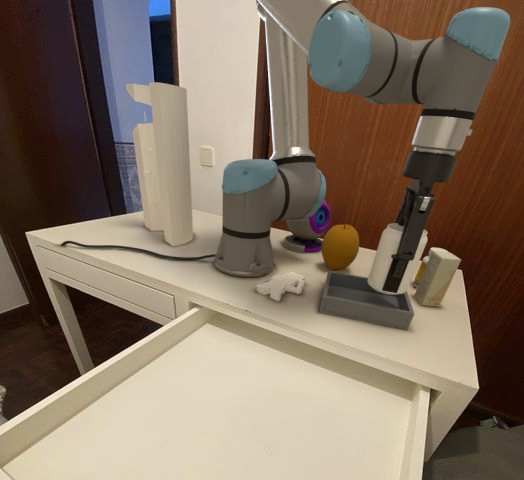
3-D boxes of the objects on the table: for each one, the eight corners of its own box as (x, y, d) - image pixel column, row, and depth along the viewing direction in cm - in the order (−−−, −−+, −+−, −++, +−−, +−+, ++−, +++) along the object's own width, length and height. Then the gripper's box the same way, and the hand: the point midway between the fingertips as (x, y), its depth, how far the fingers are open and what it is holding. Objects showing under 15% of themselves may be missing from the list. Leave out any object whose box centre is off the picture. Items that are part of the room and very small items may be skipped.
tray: (319, 312, 62) (322, 296, 60) (324, 284, 74) (328, 270, 71) (407, 329, 60) (414, 313, 57) (399, 298, 71) (404, 284, 69)
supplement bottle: (425, 282, 81) (441, 246, 75) (439, 291, 77) (456, 254, 71) (408, 282, 80) (423, 246, 74) (421, 291, 75) (437, 253, 70)
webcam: (303, 255, 89) (312, 200, 80) (274, 242, 97) (280, 190, 88) (331, 249, 96) (343, 197, 87) (303, 237, 104) (311, 189, 95)
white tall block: (169, 246, 85) (142, 226, 98) (205, 241, 91) (175, 223, 104) (154, 81, 64) (122, 83, 77) (202, 89, 70) (165, 90, 83)
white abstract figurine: (313, 285, 71) (314, 277, 70) (282, 306, 64) (283, 297, 63) (283, 273, 75) (284, 265, 74) (251, 291, 68) (251, 283, 67)
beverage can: (399, 300, 59) (424, 237, 52) (360, 287, 62) (378, 226, 55) (410, 288, 64) (434, 230, 57) (374, 276, 68) (392, 220, 61)
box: (439, 307, 69) (462, 260, 62) (420, 305, 69) (442, 258, 62) (430, 297, 73) (451, 251, 67) (412, 295, 73) (432, 249, 67)
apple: (325, 259, 88) (335, 216, 81) (357, 268, 85) (370, 224, 78) (311, 268, 81) (320, 222, 74) (345, 278, 78) (358, 231, 71)
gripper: (479, 158, 40) (414, 308, 54) (443, 152, 57) (400, 268, 70) (421, 151, 41) (371, 300, 55) (402, 147, 58) (367, 262, 71)
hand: (387, 282), depth 62 cm, fingers closed on beverage can, 8 cm apart
